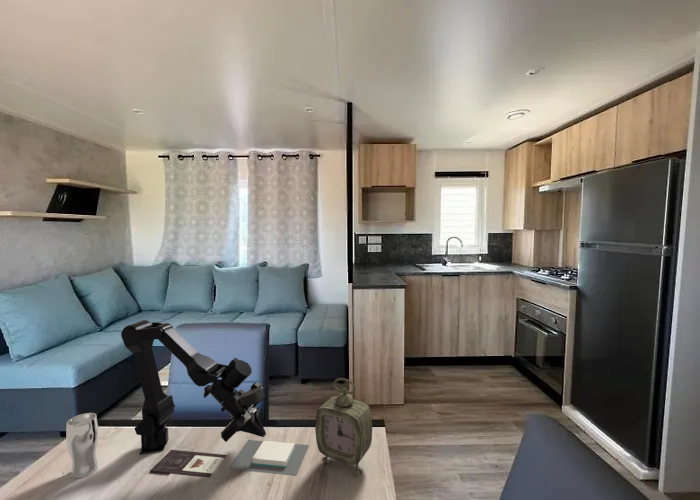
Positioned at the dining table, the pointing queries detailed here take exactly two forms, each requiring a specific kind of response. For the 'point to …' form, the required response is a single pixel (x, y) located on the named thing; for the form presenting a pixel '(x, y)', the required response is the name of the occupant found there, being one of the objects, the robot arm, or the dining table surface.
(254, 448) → the mat
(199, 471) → the chocolate bar
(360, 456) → the tabletop clock
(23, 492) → the dining table surface
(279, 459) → the tile
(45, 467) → the dining table surface
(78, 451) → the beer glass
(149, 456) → the dining table surface
